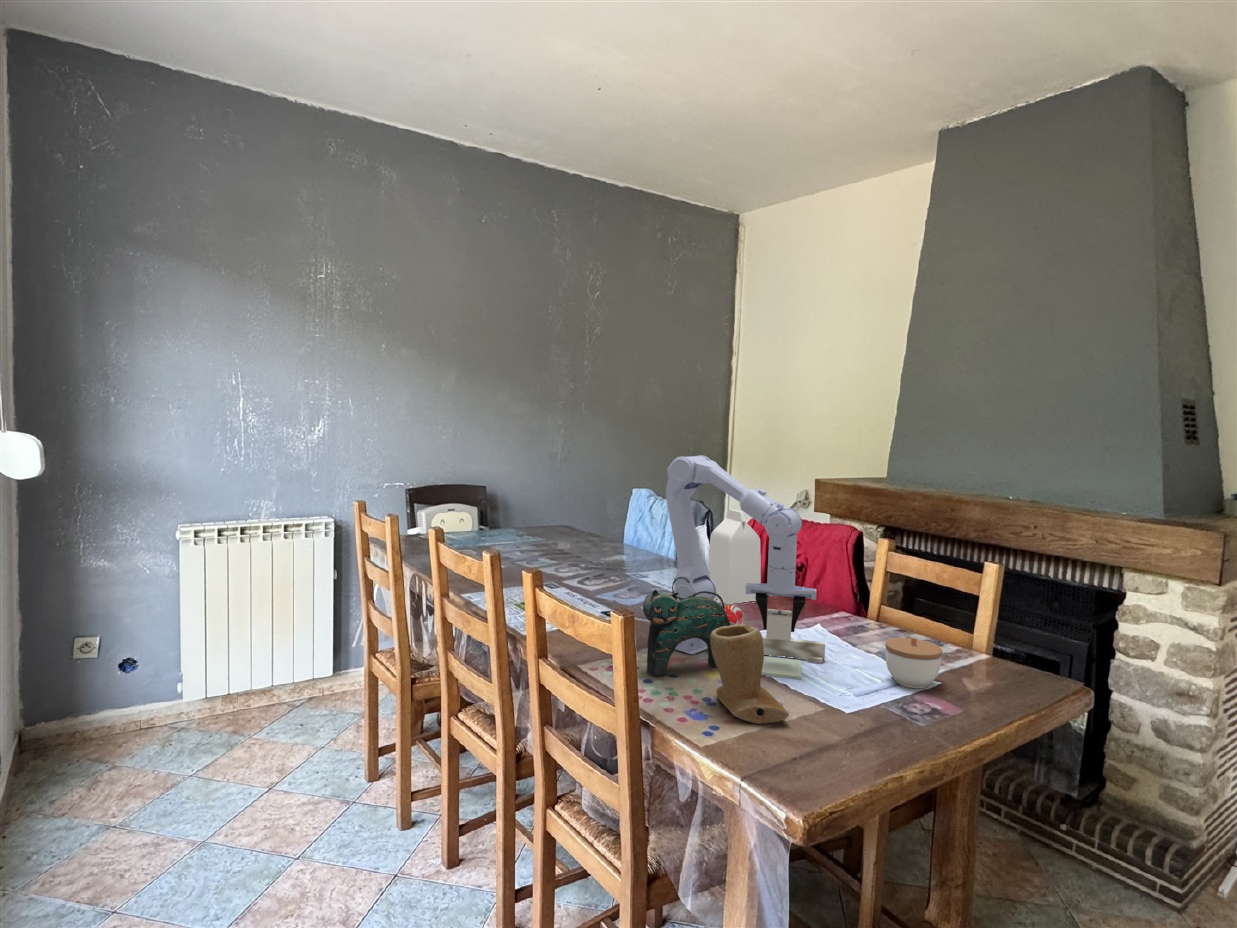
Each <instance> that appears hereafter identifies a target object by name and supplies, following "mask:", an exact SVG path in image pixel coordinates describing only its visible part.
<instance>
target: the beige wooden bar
mask: <svg viewBox="0 0 1237 928" xmlns="http://www.w3.org/2000/svg"><path fill="white" fill-rule="evenodd" d="M762 638H763V647H764V655H771V656H770V657H772V656H785V657H793V658H799V659H804V660H803V661H807V663H809V662H817V663H816V664H819V663H822V664H823V663H825V658H826V657H825V656H826V642H825V641H815V640H807V639H806V640H804V639H796V638H795V639H794V638H791V641H787V640H777V639H767V638H766V635H762ZM799 659H798V660H799Z"/></svg>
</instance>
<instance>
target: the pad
mask: <svg viewBox="0 0 1237 928" xmlns="http://www.w3.org/2000/svg"><path fill="white" fill-rule="evenodd" d="M761 676H768V677H775V678H776V677H777V678H783V679H784V678H785V679H793V680H802V678H803V677H802V660H799V659H790V658H781V657H772V656H764V661H763V667H762V672H761Z"/></svg>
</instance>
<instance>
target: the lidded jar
mask: <svg viewBox="0 0 1237 928" xmlns="http://www.w3.org/2000/svg"><path fill="white" fill-rule="evenodd" d="M942 656H943V649H942V648H941V647H940V646H939V645H937V644H935V643H933V642H930V641H928V640H923V639H918V637H915V636H911V637H893V638H889V639H887V640H886V641H885V662H886V668H887V670H888V672H889V673H890V675H891V676H892V678H893V679H896V680H895V682H896V681H897V682H898V683H899V684H898V683H897V682H896V683H897V684H898V685H900V686H903V687H906V688H911V689H925V688H927V687H928V685H930V684H931V683H932V682H934V681H935V680H936V678H937V677H938V675H939V672H940V670H941V665H942Z"/></svg>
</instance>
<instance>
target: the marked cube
mask: <svg viewBox="0 0 1237 928" xmlns="http://www.w3.org/2000/svg"><path fill="white" fill-rule="evenodd" d="M792 613H793V610H784V609H772V608H767V630H766V633H765V636H766V638H767V639H777V640H787V641H791V639H792V637H791V636H792V632H791V622H792Z"/></svg>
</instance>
